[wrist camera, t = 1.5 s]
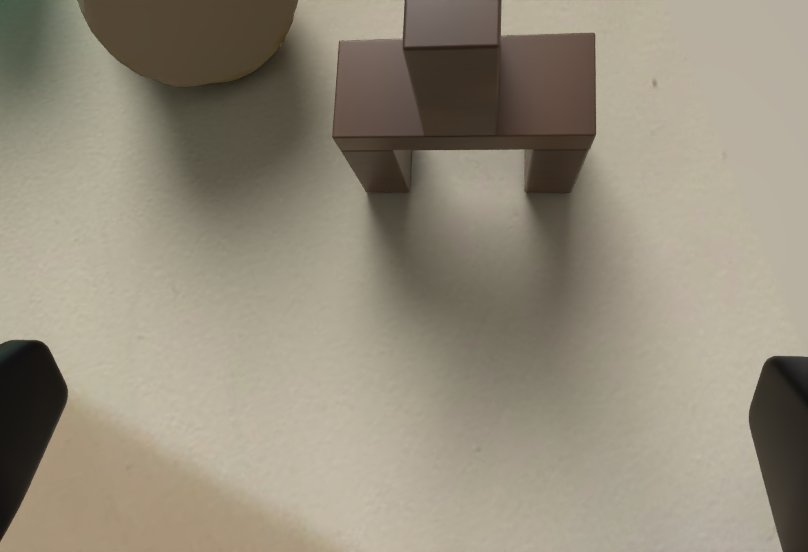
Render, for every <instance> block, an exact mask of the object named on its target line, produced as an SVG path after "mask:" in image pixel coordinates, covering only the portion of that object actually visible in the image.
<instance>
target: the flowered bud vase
mask: <svg viewBox="0 0 808 552" xmlns="http://www.w3.org/2000/svg"><path fill="white" fill-rule="evenodd" d="M77 1H78V3H79V6H80V9H81V12H82V14H83V16H84V18H85V20H86V22H87V24H88V26H89V28H90V29H91V31H92V33H93V34H94V35H95V36H96V38H97V39H98V40H99V41H100V42H101V44H102V45H103V46H104V47H105V48H106V49H107V50H108V52H109V53H110V54H111V55H113V56H114V57H115V58H116V59H117V60H118V61H120V62H121V63H122V64H124V65H125V66H127V67H128V68H130V69H131V70H132V71H134V72H136V73H137V74H139V75H141V76H145V77H148V78H152V79H154V80H157V81H160V82H163V83H165V84H168V85H171V86H175V87H189V86H199V85H204V84H210V83H220V82H229V81H233V80H236V79H238V78H241V77H243V76H245V75H247V74H249V73H251V72H253V71H255V70H256V69H258V68H259V67H260V66H261V65H262V64H263V63H264V62H265V61H267V60H268V59H269V58H270V57H271V56H273V55H274V53H275V51H276V50H277V49H279V48H280V44H281V43H282V42H283V41H284V39H285V36H286V34H287V33H288V31H289V28H290V26H291V24H292V21H293V17H294V13H295V10H296V6H297V2H298V0H77Z"/></svg>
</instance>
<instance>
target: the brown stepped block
mask: <svg viewBox="0 0 808 552" xmlns="http://www.w3.org/2000/svg"><path fill="white" fill-rule="evenodd" d="M595 136H596V71H595V33H571V34H539V35H507V36H501V0H405V6H404V26H403V39H379V40H347V41H339V50H338V64H337V79H336V93H335V107H334V122H333V136H332V137H333V139H334V141H335V142H336V144H337V146H338V147H339V149H340V150H341V152H342V153H343V155H344V157H345V158H346V160H347V161H348V163H349V165H350V166H351V168H352V170H353V171H354V173H355V174H356V176H357V178H358V179H359V181H360V183H361V184H362V186H363V187H364V189H365V191H366V192H410V178H411V157H412V150H510V149H525V188H524V190H525V192H527V193H569V192H571V191H572V189H573V186H574V184H575V182H576V179H577V177H578V174H579V172H580V170H581V167H582V165H583V163H584V160H585V158H586V155H587V153H588V151H589V149H590V147H591V145H592V143H593V140H594V138H595Z"/></svg>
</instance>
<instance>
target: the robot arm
mask: <svg viewBox="0 0 808 552" xmlns="http://www.w3.org/2000/svg"><path fill="white" fill-rule="evenodd" d="M67 398H68V389H67V385H66V382H65V380H64V378H63V376H62V374H61V372H60V370H59V368H58V366H57V364H56V362H55V360H54V358H53V356H52V354H51V352H50V350H49V348H48V346H47V345H45V344H44V343H43V342H41V341H38V340H10V341H7V342H4V343H2V344H0V541H1V540H2V538H3V536H4V534H5V533H6V531H7V529H8V527H9V526H10V524H11V522H12V520H13V518H14V516H15V514H16V513H17V511H18V509H19V507H20V505H21V503H22V501H23V499H24V497H25V494H26V492H27V490H28V488H29V486H30V484H31V481H32V479H33V477H34V475H35V472H36V470H37V468H38V466H39V463H40V461H41V459H42V457H43V455H44V452H45V450H46V448H47V446H48V443H49V441H50V439H51V437H52V434H53V432H54V430H55V428H56V425H57V423H58V421H59V419H60V417H61V414H62V412H63V410H64V408H65V405H66V402H67ZM749 425H750V430H751V434H752V438H753V442H754V446H755V449H756V453H757V457H758V461H759V465H760V468H761V472H762V476H763V480H764V484H765V487H766V491H767V495H768V499H769V503H770V506H771V510H772V514H773V518H774V522H775V526H776V529H777V533H778V536H779V540H780V543H781V547H782V550H783V552H808V357H802V356H773V357H771V358H769V359H767V361H766V362H765V363H764V366H763V368H762V371H761V374H760V377H759V380H758V384H757V387H756V390H755V393H754V396H753V399H752V402H751V406H750V410H749Z"/></svg>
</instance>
